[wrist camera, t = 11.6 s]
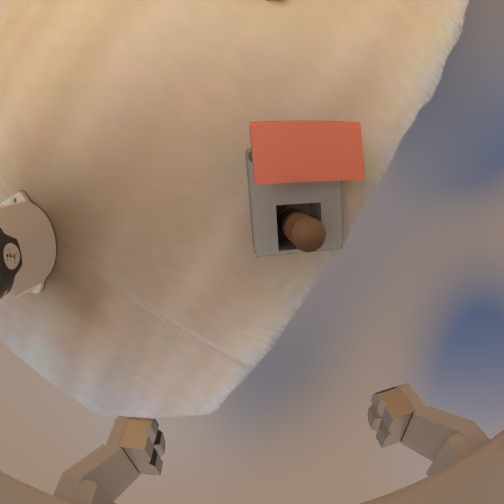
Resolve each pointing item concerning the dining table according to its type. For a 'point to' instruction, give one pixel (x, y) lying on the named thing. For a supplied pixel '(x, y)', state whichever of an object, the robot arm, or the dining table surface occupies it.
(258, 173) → the socket stand
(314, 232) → the walnut peg
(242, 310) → the dining table surface
